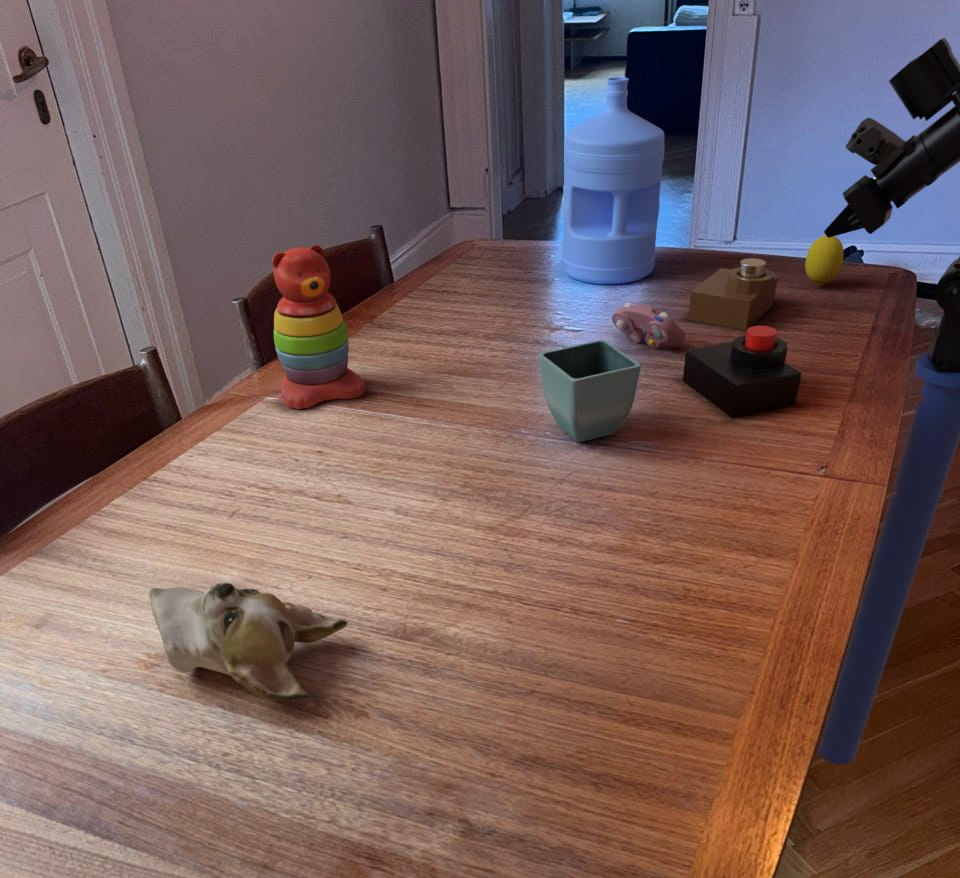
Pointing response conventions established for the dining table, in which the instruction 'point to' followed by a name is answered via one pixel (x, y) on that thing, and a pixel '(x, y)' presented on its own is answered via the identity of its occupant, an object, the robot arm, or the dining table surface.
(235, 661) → the ceramic sculpture
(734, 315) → the far box
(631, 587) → the dining table surface
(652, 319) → the video game controller
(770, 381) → the near box
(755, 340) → the red button
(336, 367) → the stacking bear
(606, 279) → the water jug
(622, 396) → the flower pot
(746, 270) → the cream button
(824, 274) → the lemon
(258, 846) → the dining table surface
